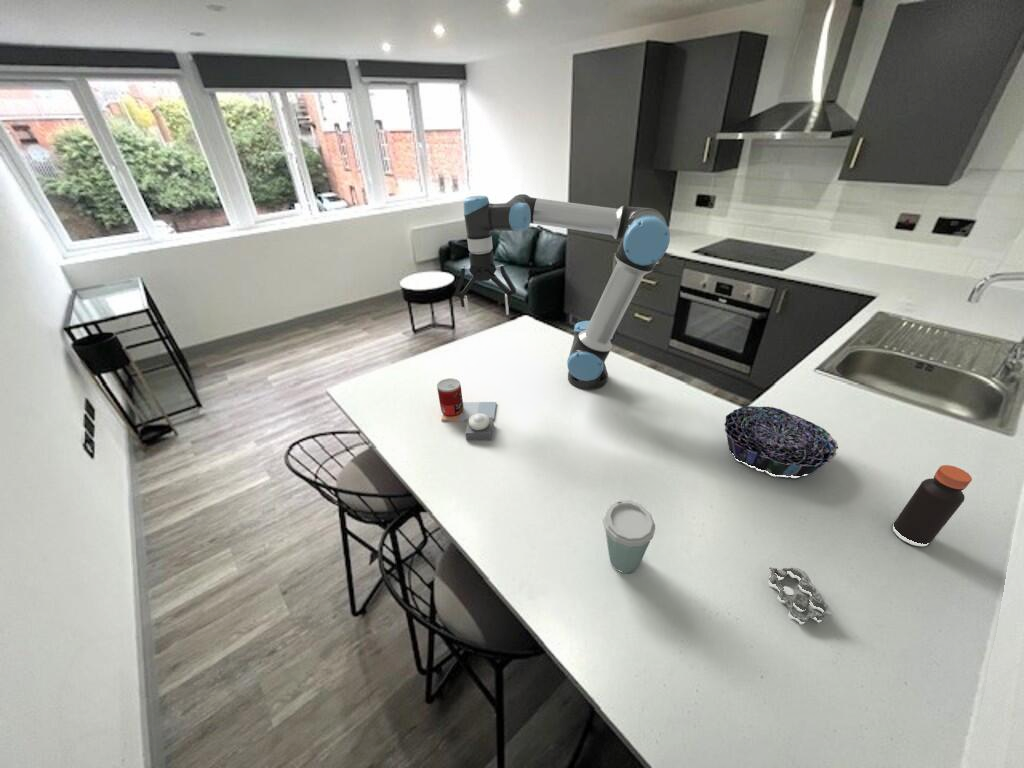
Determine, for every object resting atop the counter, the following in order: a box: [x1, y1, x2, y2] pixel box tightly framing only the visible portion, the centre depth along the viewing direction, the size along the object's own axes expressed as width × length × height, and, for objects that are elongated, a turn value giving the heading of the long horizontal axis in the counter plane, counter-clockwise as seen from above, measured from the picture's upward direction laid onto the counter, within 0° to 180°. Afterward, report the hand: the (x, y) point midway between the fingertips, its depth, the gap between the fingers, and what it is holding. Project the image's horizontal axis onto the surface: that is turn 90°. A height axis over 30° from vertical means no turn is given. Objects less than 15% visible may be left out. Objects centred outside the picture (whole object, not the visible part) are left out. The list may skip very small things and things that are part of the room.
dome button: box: [469, 413, 489, 430], centre depth 133 cm, size 6×6×6 cm
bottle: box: [893, 464, 973, 544], centre depth 90 cm, size 7×7×20 cm
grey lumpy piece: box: [768, 566, 834, 623], centre depth 84 cm, size 11×8×4 cm
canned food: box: [436, 378, 464, 417], centre depth 141 cm, size 8×8×11 cm
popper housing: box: [465, 417, 494, 441], centre depth 134 cm, size 8×8×3 cm
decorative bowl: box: [723, 405, 839, 477], centre depth 118 cm, size 26×28×10 cm
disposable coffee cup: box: [602, 499, 656, 573], centre depth 90 cm, size 11×11×15 cm
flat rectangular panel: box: [440, 401, 497, 422], centre depth 144 cm, size 18×10×1 cm, turn 87°
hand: (487, 314), depth 140 cm, fingers open, 13 cm apart
